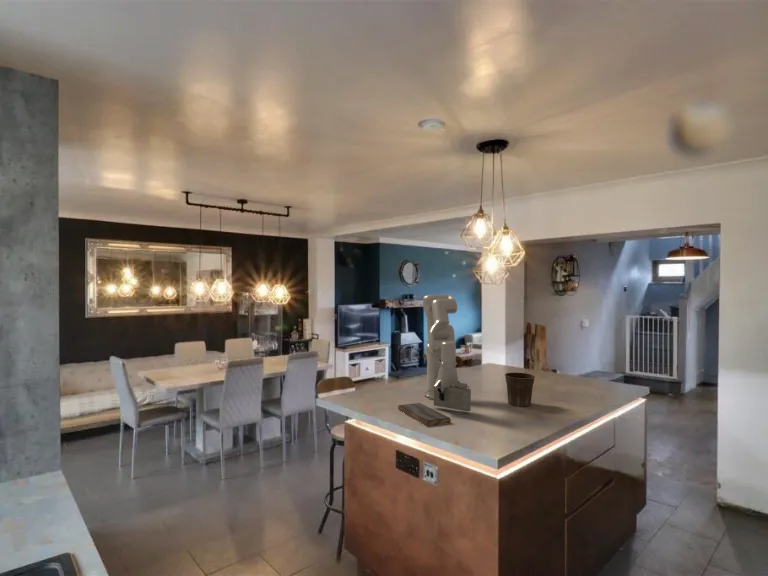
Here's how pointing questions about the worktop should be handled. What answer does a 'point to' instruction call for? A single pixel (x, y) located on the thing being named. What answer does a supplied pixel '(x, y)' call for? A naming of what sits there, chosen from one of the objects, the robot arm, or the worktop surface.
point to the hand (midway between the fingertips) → (447, 399)
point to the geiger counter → (453, 397)
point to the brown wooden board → (424, 414)
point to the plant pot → (519, 388)
